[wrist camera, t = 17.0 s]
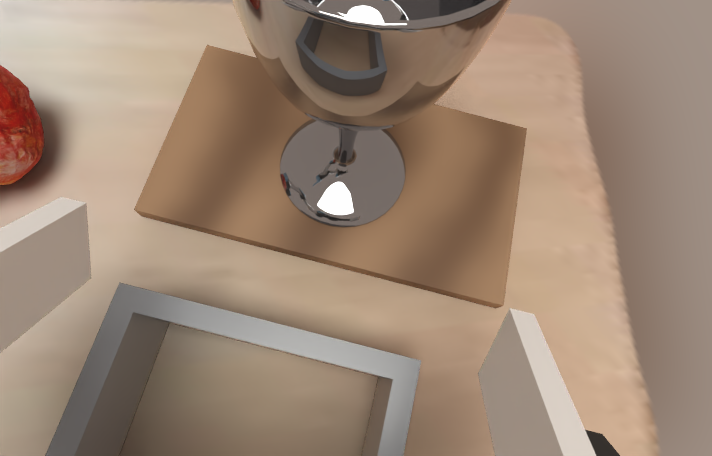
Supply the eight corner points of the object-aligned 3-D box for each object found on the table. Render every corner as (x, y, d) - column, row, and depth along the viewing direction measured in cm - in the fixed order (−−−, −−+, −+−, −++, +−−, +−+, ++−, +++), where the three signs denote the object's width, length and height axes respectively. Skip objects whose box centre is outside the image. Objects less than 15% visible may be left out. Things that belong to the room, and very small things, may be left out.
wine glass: (382, 92, 26) (461, -240, 12) (434, 209, 24) (606, -23, 10) (254, 126, 25) (167, -204, 10) (297, 254, 22) (263, 60, 8)
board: (141, 216, 23) (134, 209, 22) (211, 56, 27) (207, 45, 26) (495, 308, 24) (503, 305, 23) (519, 136, 27) (526, 128, 26)
